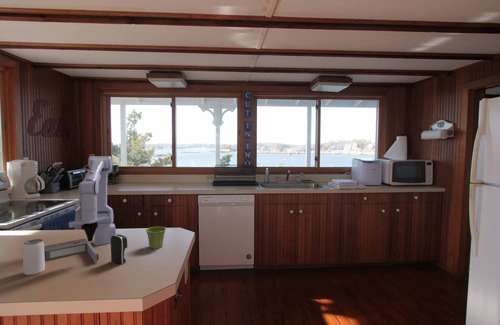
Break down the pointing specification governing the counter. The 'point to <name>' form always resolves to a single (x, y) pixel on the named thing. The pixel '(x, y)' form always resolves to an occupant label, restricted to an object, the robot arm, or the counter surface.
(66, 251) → the grey rectangular box
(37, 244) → the can
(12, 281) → the counter surface
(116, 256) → the battery charger
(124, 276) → the counter surface
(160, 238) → the plant pot
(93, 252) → the grey bar handle
